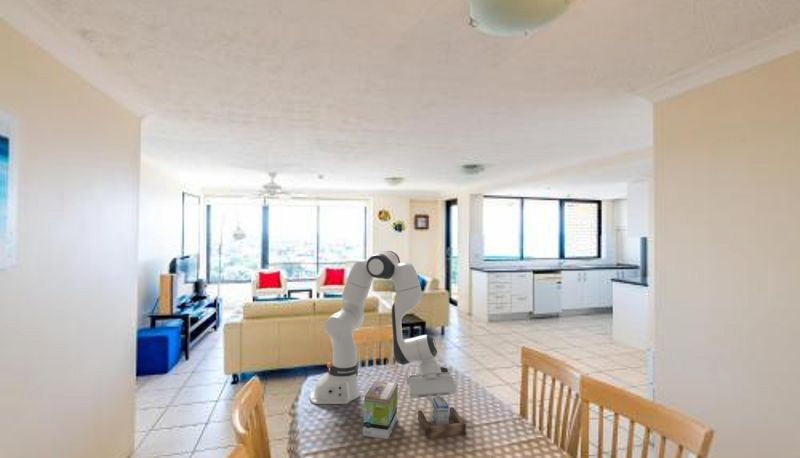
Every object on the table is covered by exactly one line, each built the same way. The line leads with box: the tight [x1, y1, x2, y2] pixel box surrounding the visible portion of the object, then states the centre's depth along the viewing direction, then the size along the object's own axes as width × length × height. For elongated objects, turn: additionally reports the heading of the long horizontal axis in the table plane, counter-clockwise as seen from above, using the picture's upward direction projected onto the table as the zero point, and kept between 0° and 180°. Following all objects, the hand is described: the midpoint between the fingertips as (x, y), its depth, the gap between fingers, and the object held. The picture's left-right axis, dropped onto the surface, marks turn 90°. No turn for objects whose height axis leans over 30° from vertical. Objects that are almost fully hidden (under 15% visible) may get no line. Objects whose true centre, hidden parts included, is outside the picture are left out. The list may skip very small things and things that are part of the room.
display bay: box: [417, 406, 467, 439], centre depth 142 cm, size 15×14×4 cm
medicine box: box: [432, 396, 450, 425], centre depth 145 cm, size 8×4×9 cm, turn 10°
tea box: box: [362, 380, 399, 440], centre depth 141 cm, size 15×10×15 cm
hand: (435, 406), depth 149 cm, fingers closed, pressing on medicine box
